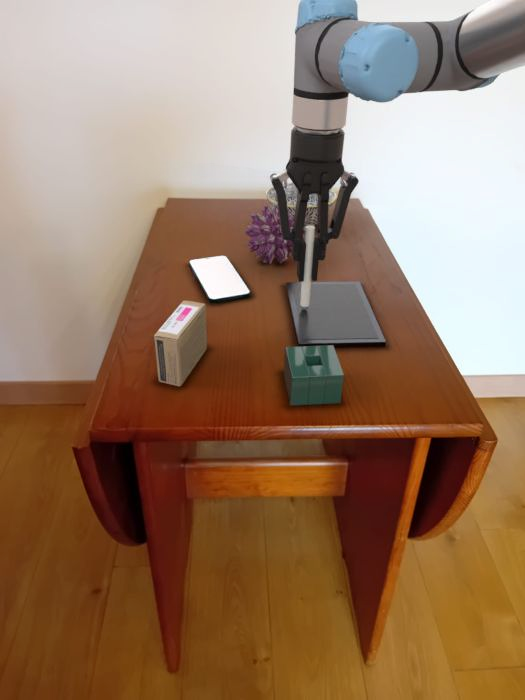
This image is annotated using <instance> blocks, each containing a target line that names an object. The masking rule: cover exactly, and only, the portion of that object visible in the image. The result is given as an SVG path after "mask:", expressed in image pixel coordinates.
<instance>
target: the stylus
mask: <svg viewBox="0 0 525 700" xmlns="http://www.w3.org/2000/svg"><path fill="white" fill-rule="evenodd" d="M315 235H316V226H315V225H314V226H312V225H308V226H305V230H304V241H305V243H306V254H305V267H304V280H303V281H300V282H301V297H300V305H301V309H302V310H307V309H308V306H309V303H310V290H311V282H312V278H311V276H312V263H313V250H314V238H315V237H316V236H315Z"/></svg>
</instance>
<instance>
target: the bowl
mask: <svg viewBox="0 0 525 700" xmlns="http://www.w3.org/2000/svg"><path fill="white" fill-rule="evenodd" d="M284 190H285V194H286V200H287V209H288V213H289V212H290V211H292V212H293V214H292V217H291V218H292V219H293V218H294V216H295V209H296V202H297V190H298V189H297V188H296V186H295V185H294V184H293V182H287V187H286V188H284ZM265 197H266V199H267V201H268V203H269V206H270V209H271V210H274V209H275V208H276V205H278V203H277V196H276V191H275V189H274V187H273V186H271V187H269V188H268V189H267V190H266V192H265ZM337 197H338V194H337V193H336V191H335V190H334V189H333V188H331V189H330V191H329V201H328V213H330V211H331V209H332V206H333V204H334V203H335V202H336V200H337ZM308 225H312V226H314V227H315V225H317V194H311V195H309V201H308V203H307V210H306V216H305V223H304V229H303V232H305V226H308Z"/></svg>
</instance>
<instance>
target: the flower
mask: <svg viewBox="0 0 525 700" xmlns="http://www.w3.org/2000/svg"><path fill="white" fill-rule="evenodd" d="M263 207H264V209H262V210H261V211H262V212H261V213H262V215H261V214H259V213H258V212H256V213H255V214H254V213H251V214H250V218H251V219H252V221H251V224H252V225H247V226H246V229H247V230H244V235H245V236H249V237H250V240H248V242H246V243H245V244H246V247H250V246H251V247H250V248H249V252H250V253H252V252H256V255H255V257H256V259H259V257H261V256H262V262H263V263H265V264H266V263H268V264H272V262H273V260H274V259H277V261H278V263H279V264H283V262H285V261H288V256H289V257H290V256H292V255H291V252H292V241H290V240H284V239H283V236H282V232H281V227H280V219H279V211H278V205H276V208H275V209H274V210H272V209H271V208H270V207H269V205H268V204H264V206H263ZM292 214H293V212H292V211H290V212H289V213H288V217H289V226H290V230H293V223H294V218H293V219H292V218H291V217H292ZM304 236H305V233H303V236H302V237H303V238H304Z"/></svg>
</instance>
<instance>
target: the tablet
mask: <svg viewBox="0 0 525 700" xmlns="http://www.w3.org/2000/svg"><path fill="white" fill-rule="evenodd" d="M301 282H302V281H291V282H290V281H289V282H285V290H286V295H287V300H288V305H289V310H290V314H291V319H292V324H293V328H294V333H295V338H296V343H297V347H302V346H327V345H333V346H334V349H345V348H346V349H347V348H348V349H349V348H385V347H386V345H387V344H386V343H387V341H386V338H385V335H384V334H383V331H382V329H381V326H380V325H379V323H378V320H377V318H376V315H375V313H374V311H373V309H372V307H371V304H370V302H369V299H368V298H367V295H366V292H365V290H364V289H363V286H362V284H361V281H311V290H310V303H309V306H308V309H307V310H302V309H301V305H300V297H301Z"/></svg>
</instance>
